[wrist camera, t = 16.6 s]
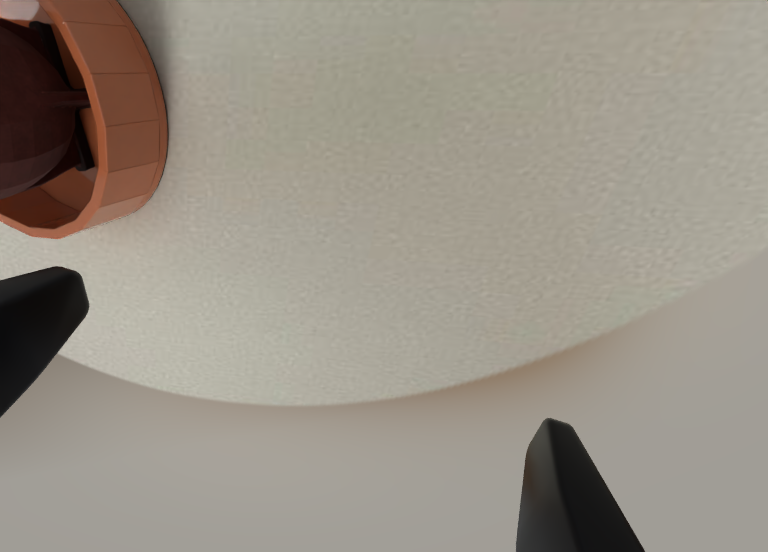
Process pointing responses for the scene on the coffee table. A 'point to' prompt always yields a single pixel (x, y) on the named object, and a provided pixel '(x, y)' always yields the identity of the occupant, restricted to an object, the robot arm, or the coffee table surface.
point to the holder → (96, 120)
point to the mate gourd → (37, 110)
